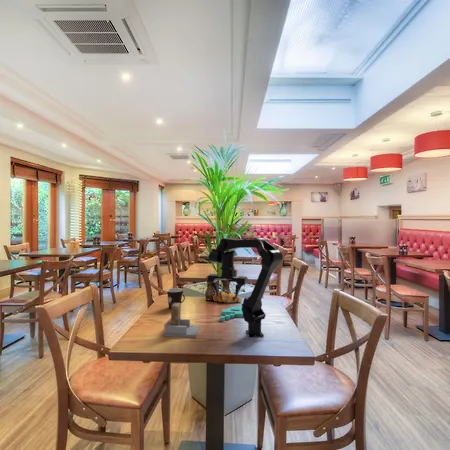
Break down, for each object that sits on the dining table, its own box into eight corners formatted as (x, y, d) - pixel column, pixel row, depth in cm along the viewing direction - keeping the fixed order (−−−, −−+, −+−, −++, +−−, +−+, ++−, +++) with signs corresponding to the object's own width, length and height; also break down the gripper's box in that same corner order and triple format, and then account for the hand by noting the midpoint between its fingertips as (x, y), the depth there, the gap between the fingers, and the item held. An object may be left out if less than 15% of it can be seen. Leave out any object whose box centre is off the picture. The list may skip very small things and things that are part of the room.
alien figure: (261, 324, 138) (260, 310, 158) (261, 319, 138) (260, 306, 158) (220, 322, 140) (224, 309, 160) (220, 317, 140) (224, 305, 160)
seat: (199, 327, 131) (200, 316, 131) (196, 337, 120) (196, 325, 120) (169, 326, 132) (169, 315, 132) (163, 336, 121) (163, 324, 121)
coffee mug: (165, 306, 162) (165, 288, 161) (180, 304, 165) (180, 287, 165) (170, 312, 151) (170, 294, 151) (185, 310, 155) (186, 292, 154)
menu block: (180, 327, 129) (180, 302, 128) (177, 331, 124) (178, 306, 123) (173, 326, 129) (174, 302, 129) (171, 331, 124) (171, 306, 124)
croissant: (242, 307, 174) (244, 294, 178) (240, 303, 166) (241, 289, 169) (209, 303, 179) (211, 290, 183) (205, 299, 171) (207, 286, 174)
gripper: (251, 263, 139) (250, 295, 140) (215, 260, 146) (215, 291, 146) (244, 266, 129) (244, 301, 129) (206, 264, 135) (206, 296, 136)
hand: (227, 297), depth 135 cm, fingers open, 9 cm apart
